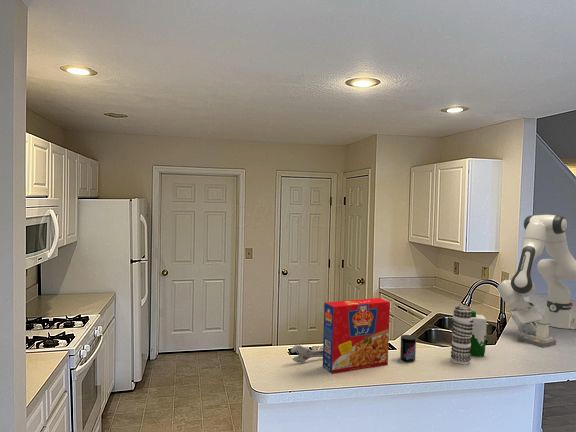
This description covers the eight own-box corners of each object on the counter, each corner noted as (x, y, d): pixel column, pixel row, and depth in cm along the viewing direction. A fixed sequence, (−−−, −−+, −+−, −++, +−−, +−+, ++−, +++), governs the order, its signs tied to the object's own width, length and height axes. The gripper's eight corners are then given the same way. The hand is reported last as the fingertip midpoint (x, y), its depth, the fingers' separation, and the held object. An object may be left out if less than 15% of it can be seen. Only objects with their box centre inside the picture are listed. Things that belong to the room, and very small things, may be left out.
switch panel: (530, 336, 234) (531, 330, 234) (555, 344, 223) (556, 337, 222) (517, 340, 228) (518, 333, 227) (542, 347, 216) (543, 340, 216)
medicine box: (532, 330, 247) (533, 315, 246) (536, 332, 242) (536, 317, 242) (517, 329, 247) (518, 314, 247) (521, 331, 243) (522, 316, 243)
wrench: (347, 361, 199) (290, 365, 185) (344, 360, 201) (288, 363, 186) (349, 344, 199) (293, 346, 185) (346, 343, 201) (291, 344, 187)
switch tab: (540, 337, 226) (541, 320, 225) (548, 339, 222) (549, 322, 222) (535, 338, 223) (536, 321, 223) (544, 341, 220) (544, 323, 219)
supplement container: (400, 361, 193) (401, 338, 193) (399, 356, 200) (400, 334, 199) (416, 363, 192) (416, 340, 191) (414, 357, 198) (415, 335, 198)
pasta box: (331, 374, 178) (333, 306, 176) (322, 367, 185) (324, 302, 184) (387, 365, 189) (389, 301, 188) (377, 358, 196) (379, 297, 195)
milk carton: (462, 349, 211) (464, 309, 210) (482, 351, 209) (484, 310, 208) (466, 355, 202) (468, 313, 201) (487, 357, 200) (488, 315, 200)
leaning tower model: (461, 356, 202) (463, 303, 201) (476, 363, 193) (478, 308, 192) (445, 358, 199) (447, 304, 198) (460, 365, 190) (462, 309, 189)
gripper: (512, 306, 226) (530, 330, 217) (534, 302, 236) (552, 325, 228) (504, 313, 230) (521, 336, 222) (526, 309, 240) (543, 331, 232)
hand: (537, 330), depth 225 cm, fingers closed, pressing on switch tab
